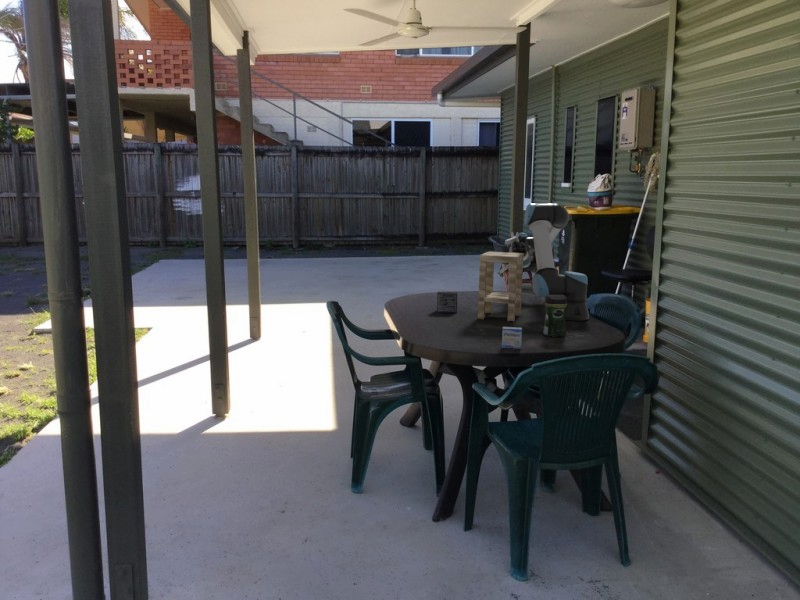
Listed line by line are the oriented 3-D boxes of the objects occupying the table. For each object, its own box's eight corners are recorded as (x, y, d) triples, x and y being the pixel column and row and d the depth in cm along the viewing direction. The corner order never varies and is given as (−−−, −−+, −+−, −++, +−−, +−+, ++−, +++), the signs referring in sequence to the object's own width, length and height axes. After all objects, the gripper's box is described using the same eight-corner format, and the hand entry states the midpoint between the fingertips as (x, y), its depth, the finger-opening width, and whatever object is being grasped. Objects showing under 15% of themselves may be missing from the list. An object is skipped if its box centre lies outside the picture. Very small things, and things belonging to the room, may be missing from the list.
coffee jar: (561, 333, 304) (563, 293, 301) (567, 337, 296) (570, 296, 293) (540, 333, 303) (543, 293, 300) (546, 337, 295) (548, 296, 292)
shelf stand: (486, 312, 349) (488, 251, 343) (520, 315, 343) (523, 253, 337) (477, 318, 332) (480, 255, 327) (513, 321, 326) (516, 257, 320)
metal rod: (515, 239, 364) (515, 236, 364) (518, 240, 363) (518, 236, 363) (504, 244, 340) (505, 240, 340) (508, 244, 340) (508, 240, 339)
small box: (457, 310, 351) (457, 291, 349) (457, 313, 345) (457, 293, 343) (437, 310, 352) (437, 290, 350) (436, 312, 346) (437, 292, 344)
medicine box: (501, 349, 275) (502, 328, 273) (501, 346, 279) (502, 326, 278) (521, 350, 274) (522, 329, 272) (520, 347, 278) (521, 327, 276)
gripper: (533, 259, 373) (527, 241, 352) (506, 257, 378) (499, 239, 357) (534, 246, 375) (529, 228, 354) (508, 245, 381) (501, 227, 360)
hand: (514, 234), depth 356 cm, fingers closed on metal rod, 2 cm apart
